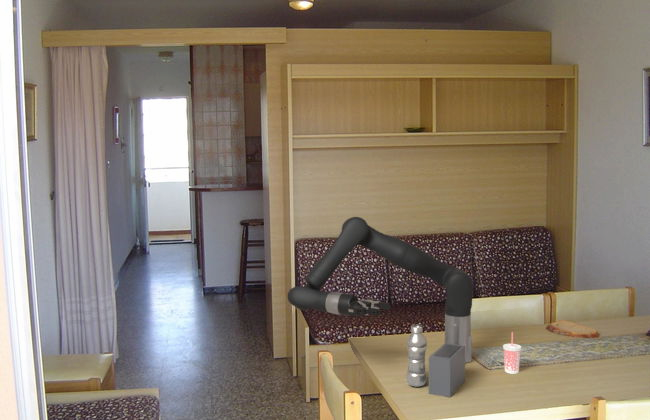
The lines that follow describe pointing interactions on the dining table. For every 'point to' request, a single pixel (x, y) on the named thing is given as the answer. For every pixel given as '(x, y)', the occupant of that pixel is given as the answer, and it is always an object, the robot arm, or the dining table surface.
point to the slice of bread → (572, 329)
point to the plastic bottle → (416, 357)
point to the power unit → (446, 369)
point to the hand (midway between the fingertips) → (384, 309)
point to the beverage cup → (511, 357)
